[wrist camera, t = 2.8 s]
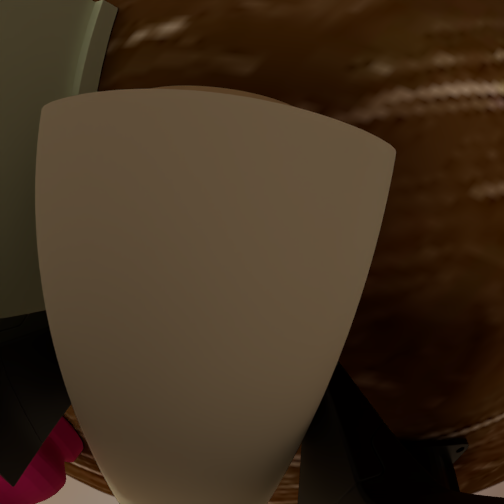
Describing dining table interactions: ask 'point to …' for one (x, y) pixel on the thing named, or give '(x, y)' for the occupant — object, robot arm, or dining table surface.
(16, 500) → the pepper mill
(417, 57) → the dining table surface
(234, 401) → the kitchen roll
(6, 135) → the roll cradle
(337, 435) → the robot arm
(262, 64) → the dining table surface
